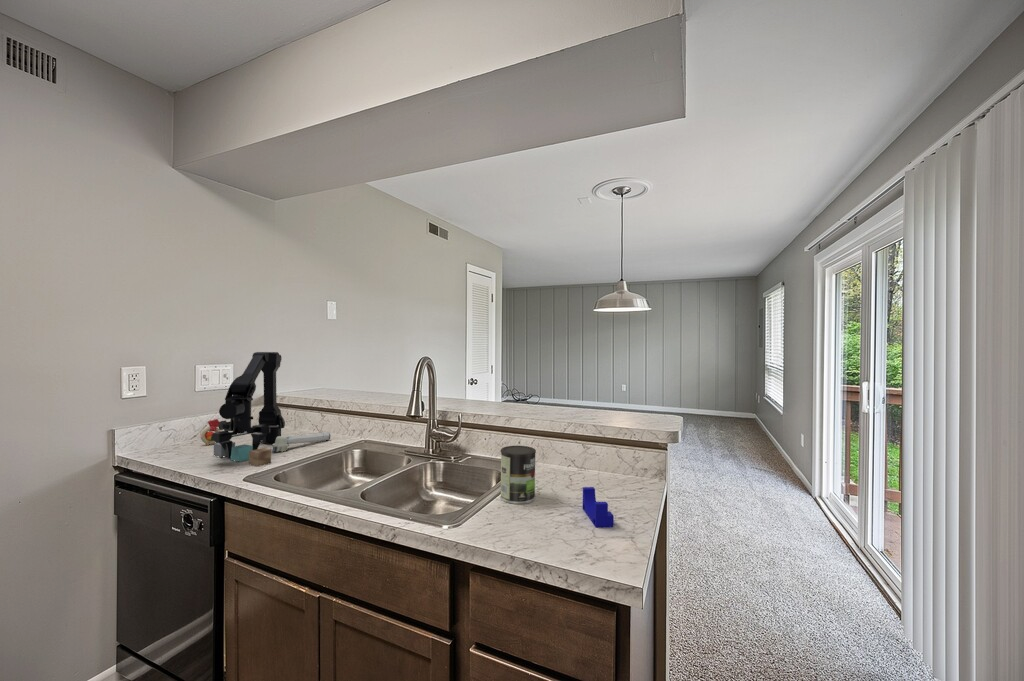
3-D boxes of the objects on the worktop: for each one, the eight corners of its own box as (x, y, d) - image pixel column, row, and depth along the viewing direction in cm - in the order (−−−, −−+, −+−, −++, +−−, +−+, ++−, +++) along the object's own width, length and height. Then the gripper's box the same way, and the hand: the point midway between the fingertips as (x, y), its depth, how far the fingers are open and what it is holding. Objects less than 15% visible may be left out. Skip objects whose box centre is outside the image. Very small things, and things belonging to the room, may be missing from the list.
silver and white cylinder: (332, 432, 188) (278, 435, 166) (330, 447, 187) (276, 452, 165) (324, 431, 190) (270, 433, 169) (322, 446, 190) (268, 450, 168)
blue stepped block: (613, 527, 104) (613, 503, 104) (595, 528, 103) (596, 504, 103) (598, 508, 116) (598, 486, 116) (582, 509, 115) (582, 487, 115)
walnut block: (262, 461, 156) (262, 447, 156) (270, 463, 153) (271, 449, 153) (248, 464, 151) (249, 450, 151) (257, 466, 149) (257, 452, 149)
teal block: (244, 457, 160) (244, 444, 160) (252, 459, 158) (252, 445, 158) (230, 460, 156) (230, 447, 156) (238, 462, 154) (238, 448, 154)
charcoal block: (227, 453, 165) (227, 440, 165) (234, 455, 163) (235, 442, 163) (213, 456, 161) (213, 443, 161) (221, 458, 159) (221, 445, 159)
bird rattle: (211, 451, 175) (233, 438, 183) (200, 429, 171) (222, 417, 179) (204, 449, 178) (225, 437, 186) (192, 427, 174) (214, 415, 182)
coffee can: (541, 495, 124) (542, 448, 124) (523, 507, 115) (524, 456, 115) (512, 488, 130) (512, 443, 130) (493, 499, 121) (493, 450, 121)
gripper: (253, 408, 169) (253, 447, 169) (202, 416, 152) (202, 458, 152) (271, 411, 164) (270, 451, 164) (220, 419, 147) (219, 463, 147)
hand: (241, 455), depth 157 cm, fingers open, 9 cm apart
